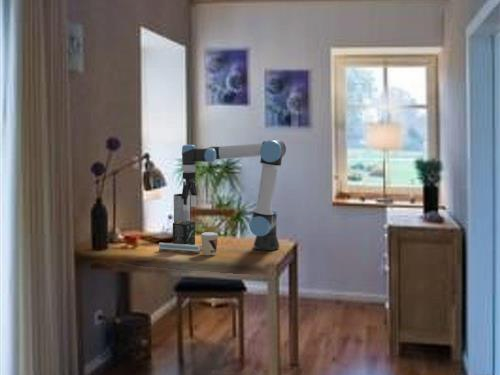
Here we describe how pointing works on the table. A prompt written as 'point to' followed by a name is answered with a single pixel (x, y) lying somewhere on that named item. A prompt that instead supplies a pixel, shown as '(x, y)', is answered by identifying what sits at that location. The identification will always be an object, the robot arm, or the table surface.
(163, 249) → the shelf board
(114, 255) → the table surface
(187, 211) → the vase
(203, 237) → the coffee cup
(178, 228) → the tampon box
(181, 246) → the price rail
